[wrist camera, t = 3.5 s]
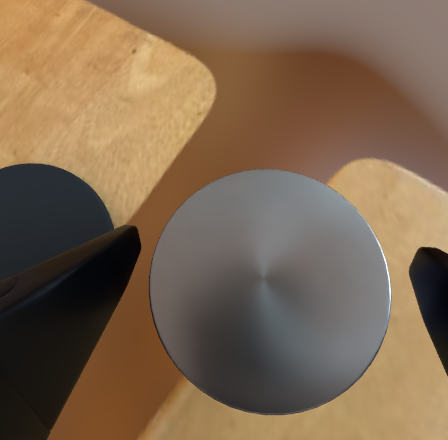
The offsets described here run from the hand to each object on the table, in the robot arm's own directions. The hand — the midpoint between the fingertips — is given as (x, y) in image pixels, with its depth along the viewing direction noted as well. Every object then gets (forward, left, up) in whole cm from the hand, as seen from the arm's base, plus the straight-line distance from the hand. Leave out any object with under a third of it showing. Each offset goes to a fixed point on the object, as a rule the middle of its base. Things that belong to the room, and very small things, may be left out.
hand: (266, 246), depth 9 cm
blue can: (-1, -1, -7) cm, 7 cm away
